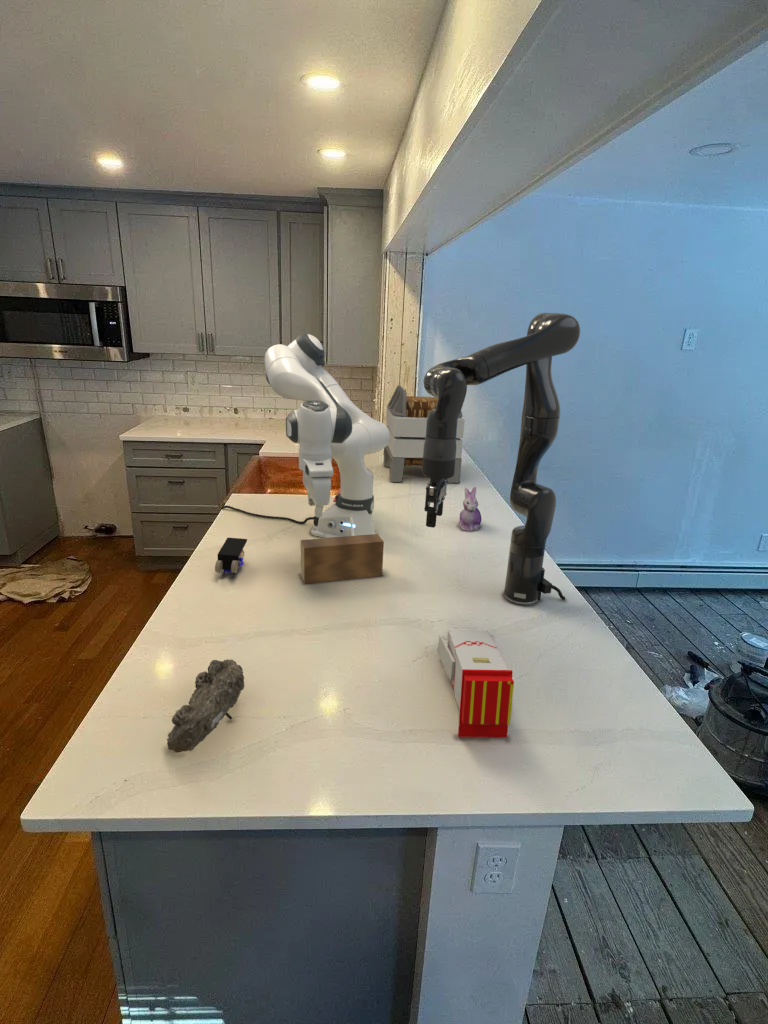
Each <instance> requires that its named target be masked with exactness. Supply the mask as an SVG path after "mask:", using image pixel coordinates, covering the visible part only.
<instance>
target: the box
mask: <svg viewBox="0 0 768 1024" xmlns="http://www.w3.org/2000/svg"><path fill="white" fill-rule="evenodd" d="M299 542H300V576H301V579H302V582H303V584H316V583H317V584H318V583H327V582H335V581H346V580H355V579H363V578H365V579H366V578H375V577H382V576H383V565H384V545H385V542H384V540H383V539H382V538H381V536H380V535H379V534H378V533H376V534H371V535H358V536H345V537H332V538H323V537H319V538H309V539H308V538H307V539H300V541H299Z"/></svg>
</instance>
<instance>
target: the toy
mask: <svg viewBox="0 0 768 1024" xmlns="http://www.w3.org/2000/svg"><path fill="white" fill-rule="evenodd" d="M446 640H447V643H446V641H445V639H444V636H443V635H442V634H439V637H438V646H437V656H438V657H439V659H440V661H441V663H442V666H443V668H444V670H445V672H446V674H447V677H448V679H449V681H450V684H451V687H452V690H453V693H454V697H455V701H456V705H457V708H458V711H459V714H458V715H459V716H458V730H457V731H458V732H457V737H458V738H508V731H509V726H510V725H511V717H512V707H513V697H514V696H513V695H514V684H515V680H514V679H513V673H514V671H513V670H512V669H508V667H507V665H506V662H505V661H504V659H503V658H502V655H501V653H500V651H499V649H498V647H497V643H496V639H495V637H494V635H493V634H491V632H490V631H489V629H467V628H466V629H465V628H463V629H461V628H460V629H459V628H448V630H447V639H446Z"/></svg>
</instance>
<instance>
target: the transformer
mask: <svg viewBox="0 0 768 1024" xmlns="http://www.w3.org/2000/svg"><path fill="white" fill-rule="evenodd" d="M407 394H408V393H407V390H406V389H404V388H403V387H402V385H399V384H398V385H397V386H396V388H395V390H394V392H393V394H392V395H391V398H390V400H389V402H388V404H387V405H386V413H385V414H386V415H385V423H386V427H387V428H388V430H389V434H390V439H389V443H388V445H387V446H386V447H385V448H383V466H384V467H388V468H389V475H388V476H389V477H388V478H389V480H390V482H391V483H402V482H403V475H404V469H405V466H406V467H407V466H411V467H412V466H413V467H415V466H416V467H417V466H418V467H422V465H423V450H424V442H425V436H426V424H427V415H428V413H429V412H430V411H431V410H433V409H436V406H437V402H438V398H437V397H434V396H415V395H414V396H413V395H412V396H411V395H407ZM464 429H465V419H464V418H463V411H461V412H460V414H459V417H458V423H457V435H456V446H457V447H456V459H455V470H454V475H453V477H451V478H447V484H448V483H449V484H455V483H456V484H459V483H461V472H462V461H463V460H462V453H463V442H464V441H463V440H462V439H463V438H464V431H465V430H464Z"/></svg>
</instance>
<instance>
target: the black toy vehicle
mask: <svg viewBox="0 0 768 1024" xmlns="http://www.w3.org/2000/svg"><path fill="white" fill-rule="evenodd" d="M247 542H248V538H240V537H226V539H225V541H224V543H223V544H222V546H221V547H220V549H219V551H218V552H217V560H216V562H215V564H214V572H215V573H221V577H222V578H224V577H225V576H226V574H227V573H230V574H231V573H232V574H231V578H234V577H235V575H236V573H237V572H239V571H240V567H242V566H243V565H244V564H245V562H244V558H245V551H244V547H245V546H246V544H247Z"/></svg>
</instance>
